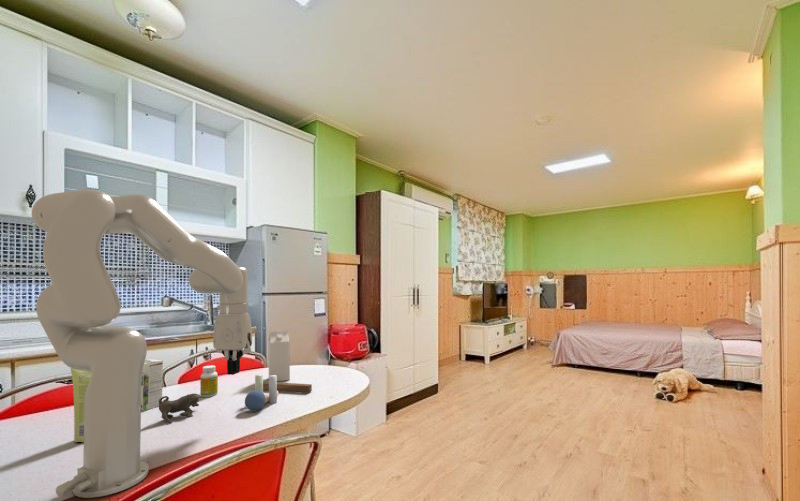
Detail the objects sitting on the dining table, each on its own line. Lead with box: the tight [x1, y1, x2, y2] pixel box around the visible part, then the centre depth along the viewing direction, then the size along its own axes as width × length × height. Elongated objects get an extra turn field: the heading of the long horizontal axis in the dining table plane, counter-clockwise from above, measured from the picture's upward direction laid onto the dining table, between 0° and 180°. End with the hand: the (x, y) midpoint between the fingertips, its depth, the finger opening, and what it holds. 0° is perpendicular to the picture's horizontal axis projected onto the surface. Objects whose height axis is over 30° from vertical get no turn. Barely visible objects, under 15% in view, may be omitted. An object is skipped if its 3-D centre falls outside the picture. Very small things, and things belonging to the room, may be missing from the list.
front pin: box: [264, 391, 280, 404], centre depth 129 cm, size 2×2×8 cm
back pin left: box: [254, 373, 264, 393], centre depth 128 cm, size 2×2×8 cm
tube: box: [70, 367, 92, 443], centre depth 102 cm, size 6×5×20 cm
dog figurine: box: [158, 393, 201, 424], centre depth 116 cm, size 12×6×7 cm, turn 142°
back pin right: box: [268, 375, 278, 405], centre depth 127 cm, size 2×2×8 cm
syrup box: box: [141, 358, 164, 411], centre depth 125 cm, size 6×6×14 cm
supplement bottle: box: [199, 364, 219, 398], centre depth 136 cm, size 5×5×10 cm
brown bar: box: [263, 381, 313, 394], centre depth 139 cm, size 2×20×2 cm, turn 76°
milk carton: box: [268, 329, 291, 382], centre depth 154 cm, size 7×7×19 cm
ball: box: [244, 389, 266, 412], centre depth 120 cm, size 6×6×6 cm
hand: (233, 373), depth 112 cm, fingers closed
